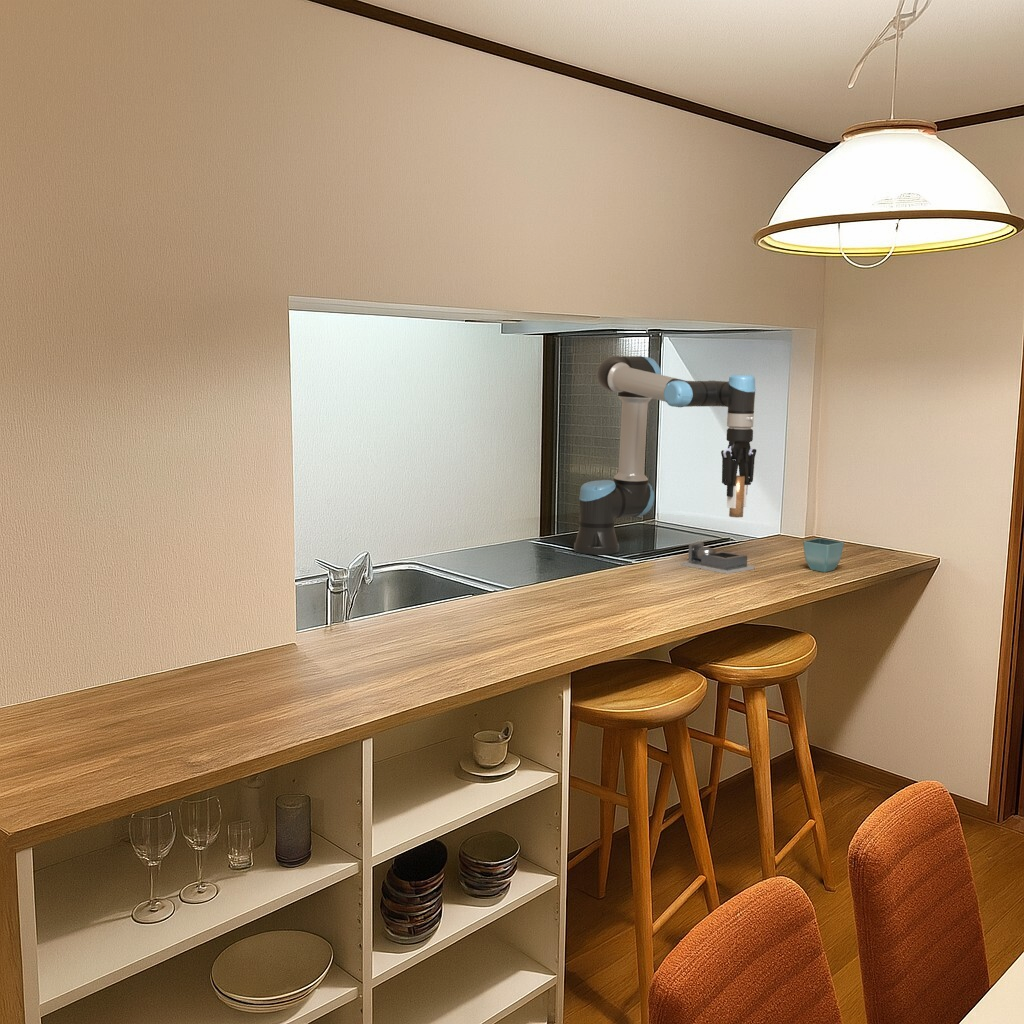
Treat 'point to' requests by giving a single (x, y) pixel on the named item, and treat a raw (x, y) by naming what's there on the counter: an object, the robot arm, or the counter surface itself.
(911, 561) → the counter surface
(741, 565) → the dark grey holder base
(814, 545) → the flower pot
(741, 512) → the pipe stub
